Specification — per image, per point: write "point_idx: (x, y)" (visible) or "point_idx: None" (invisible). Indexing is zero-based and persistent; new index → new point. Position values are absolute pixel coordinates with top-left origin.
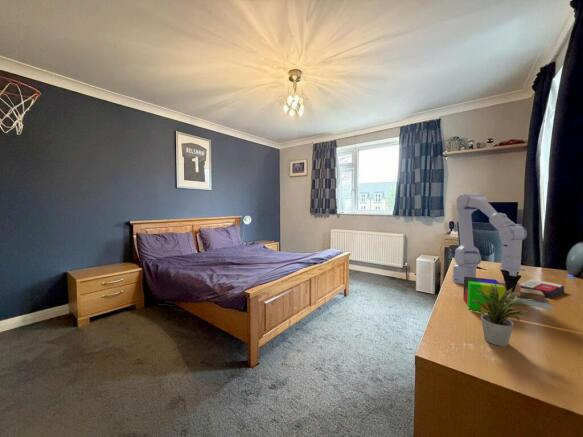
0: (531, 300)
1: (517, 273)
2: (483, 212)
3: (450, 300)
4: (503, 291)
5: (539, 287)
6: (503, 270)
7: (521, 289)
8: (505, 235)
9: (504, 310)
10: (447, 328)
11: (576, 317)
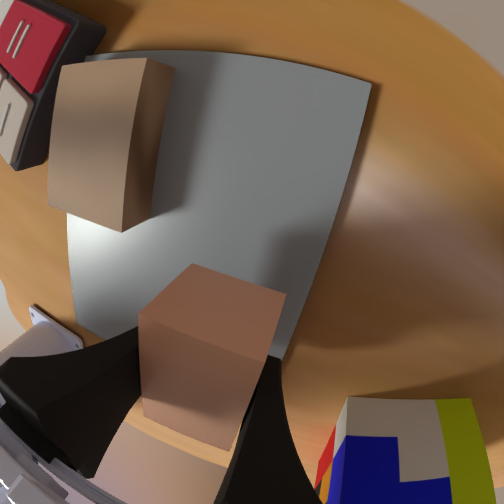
0: (188, 147)
1: (57, 406)
2: None
3: None
4: (489, 494)
5: (22, 68)
6: (79, 471)
7: (74, 182)
8: None
9: None
10: (497, 477)
11: (429, 21)
